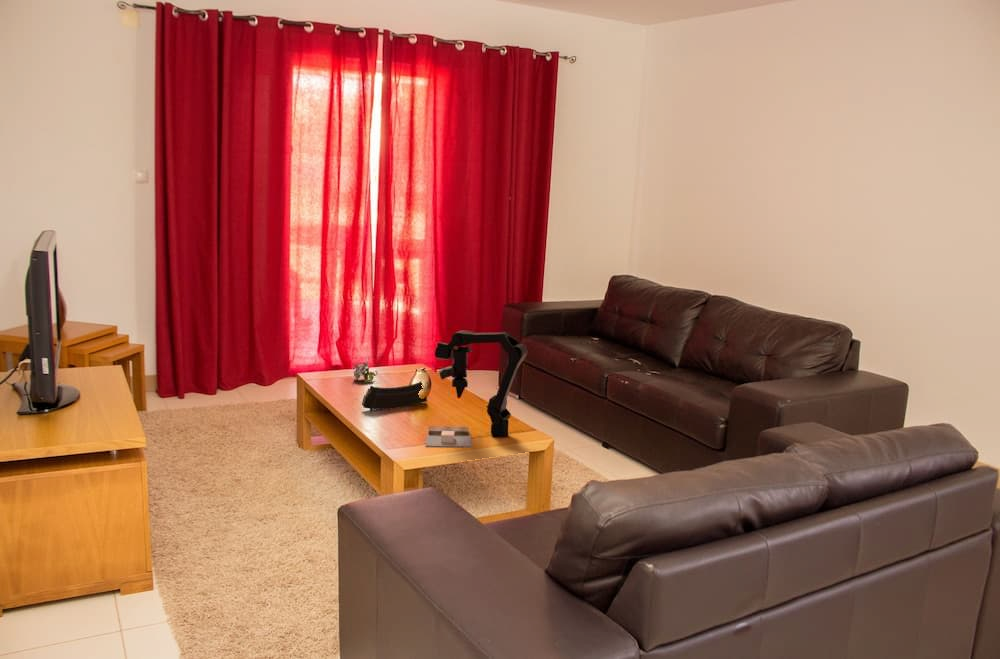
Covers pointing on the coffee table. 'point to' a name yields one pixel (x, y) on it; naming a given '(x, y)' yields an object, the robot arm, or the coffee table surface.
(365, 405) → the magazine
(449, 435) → the peach square block
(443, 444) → the mat
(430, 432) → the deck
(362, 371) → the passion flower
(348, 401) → the coffee table surface
